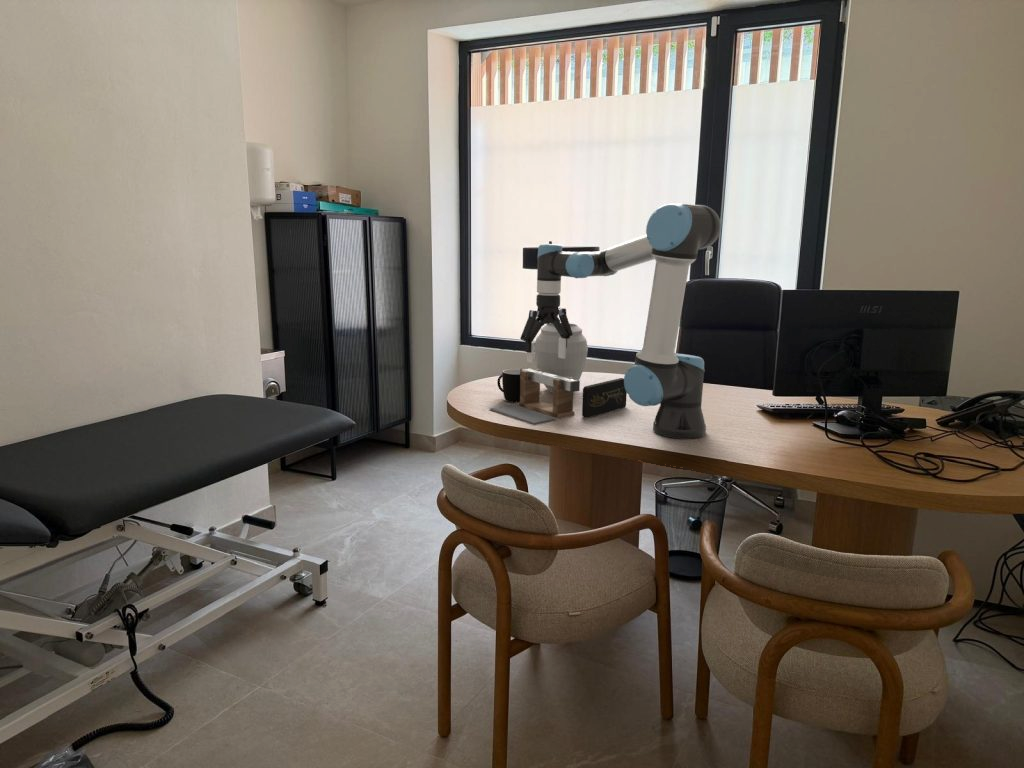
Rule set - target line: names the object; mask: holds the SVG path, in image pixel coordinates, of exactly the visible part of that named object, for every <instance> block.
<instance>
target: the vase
mask: <svg viewBox="0 0 1024 768" xmlns="http://www.w3.org/2000/svg"><path fill="white" fill-rule="evenodd" d="M569 324H570V327H571V330H572V333H573V334H572V336H570V338H569V339H567V348H566V357H565V359H563V358H558V348H559V338H562V337H561V336H560V334H559V333H558V331H557V330H556V328H555V326H554V325H553V323H549V324H544V325H543V326H542V327H541V329H540V331H541V332H540V334H538V336H537V337H535V342H534V343H535V345H534V359H535V364H536V369H539V370H540V371H541V372H545V373H549V374H553V375H557V376H561V377H565V378H566V377H572V378H574V380H579V381H580V380H581V377H582V374H583V372H584V369H585V367H586V361H587V358H588V357H587V356H588V352H589V349H588V340H587V337H585V336H584V334H583V329H582V328H581V327H580V326H578V325H577V324H575V323H569ZM543 385H544V387H545V388H546V389H547V390H548V391H549V392H551V393H553V387H552V386H549V385H545V384H543Z"/></svg>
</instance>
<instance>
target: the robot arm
mask: <svg viewBox="0 0 1024 768" xmlns="http://www.w3.org/2000/svg"><path fill="white" fill-rule="evenodd" d="M721 223H722V222H721V219H720V217H719V215H718V213H717V212H716V210H714V209H712V208H711V207H709V206H707V205H704V204H691V203H690V204H688V203H680V202H678V203H677V202H676V203H675V202H673V203H666V204H663V205H661V206H659V207H658V208H657V209H656V210H654V211H653V213H652V214H651V215H650V216H649V218H648V220H647V224H646V228H645V229H646V230H645V233H646V234H645V235H641V236H639V237H636V238H633V239H630V240H627V241H624V242H621V243H620V244H616V245H614V246H613V245H612V246H611V247H608V248H606V249H605V248H604V249H603V250H599V251H563V246H562V244H557V243H555V244H553V243H541V244H540V245H538V249H537V256H536V258H537V270H536V272H537V275H536V276H537V278H536V292H537V295H536V299H535V301H536V303H535V304H536V306H537V308H536V309H537V310H532V309H530V310H529V311H528V317H527V320H526V323H525V325H524V328H523V330H522V332H521V335H520V340H521V341H523V342H525V353H526V363H528V364H529V363H530V364H534V363H535V351H534V347H535V342H534V339H536V338H537V337H536V336H537V335H538V333H539V332H540V331H541V328H543V327H544V326H545V325H547V324H550V323H553V325H554V326H555V328H556V330H557V331H558V333H559V334H560V336H561V337H562V338H559V348H558V358H563V359H565V357H566V348H567V339H569V338H570V336H572V334H573V333H572V330H571V327H570V324H571V323H570V322H569V318H568V315H567V308H566V307H565V308H564V307H560V306H561V291H562V289H561V288H562V286H561V285H562V277H567V278H574V279H585V278H588V277H609V276H613V275H615V274H617V273H618V272H619V271H621V270H625V269H627V268H632V267H634V266H637V265H640V264H644V263H646V262H651V261H653V260H655V267H654V273H653V274H654V275H653V279H652V284H651V294H650V299H649V304H648V305H649V306H648V313H647V319H646V326H645V331H644V339H643V344H642V349H640V350H639V351H637V352H636V355H635V360H634V365H631V366H630V367H629V368H628V369H626V371H625V374H624V386H625V390H626V392H627V394H628V397H629V399H630V400H631V401H632V402H634V403H635V404H636V405H638V406H642V407H650V406H651V407H655V406H658V405H659V407H658V410H657V412H656V415H655V418H654V420H653V421H652V422H653V423H652V431H653V432H654V433H655V434H657V435H660V436H663V437H668V438H673V439H685V440H687V439H697V438H698V439H699V438H702V437H704V436H706V434H707V433H706V431H707V425H706V423H705V418H704V414H703V410H702V409H703V408H702V403H703V402H702V401H703V390H704V377H705V372H706V371H705V361H704V359H703V358H702V357H701V356H698V355H697V356H696V355H691V354H685V353H677V352H675V351H676V345H677V339H678V334H679V329H680V323H681V316H682V309H683V305H684V304H683V303H684V298H685V294H686V293H685V292H686V285H687V280H688V275H689V269H690V265H691V264H693V263H694V262H695V261H696V260H697V259H698V258H697V257H698V251H699V250H704V249H707V248H709V247H711V246H712V245H714V243H715V242H716V241H717V240H718V238H719V236H720V233H721V228H722V227H721V226H722V225H721Z"/></svg>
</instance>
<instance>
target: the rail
mask: <svg viewBox="0 0 1024 768" xmlns="http://www.w3.org/2000/svg"><path fill="white" fill-rule="evenodd" d="M519 369H520V376H521V371H527V372H528V377H527V380H530V381H534V382H538V383H540V385H544V384H545V385H549V386H552V387H553V379H559V380H561V389H563V390H567V391H570V392H573V393H575V392H580V390H581V389H580V387H581V386H580V385H581V380H580V379H579V380H573V379H569V378H565V377H561V376H557V375H553V374H549V373H545V372H541V371H537V370H533V369H534V368H530V367H523V368H519ZM545 385H544V386H545Z"/></svg>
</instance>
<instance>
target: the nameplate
mask: <svg viewBox="0 0 1024 768" xmlns="http://www.w3.org/2000/svg"><path fill="white" fill-rule="evenodd" d="M581 403H582V404H581V405H582V406H581V407H582V408H581V416H582V417H583V418H586V419H589V418H590V419H591V418H592V417H597V416H599V415H600V416H601V415H604V414H607V413H611V412H615V411H617V410H622V409H625V408H626V406H627V392H626V390H625V386H624V378H623V377H619V378H615V379H610V380H607V381H603V382H598V383H594V384H590V385H585V386H583V387H582V401H581Z"/></svg>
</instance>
